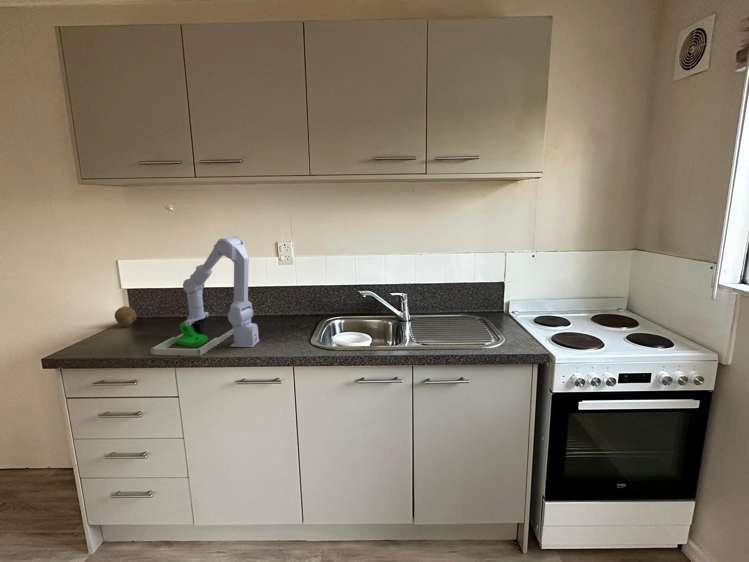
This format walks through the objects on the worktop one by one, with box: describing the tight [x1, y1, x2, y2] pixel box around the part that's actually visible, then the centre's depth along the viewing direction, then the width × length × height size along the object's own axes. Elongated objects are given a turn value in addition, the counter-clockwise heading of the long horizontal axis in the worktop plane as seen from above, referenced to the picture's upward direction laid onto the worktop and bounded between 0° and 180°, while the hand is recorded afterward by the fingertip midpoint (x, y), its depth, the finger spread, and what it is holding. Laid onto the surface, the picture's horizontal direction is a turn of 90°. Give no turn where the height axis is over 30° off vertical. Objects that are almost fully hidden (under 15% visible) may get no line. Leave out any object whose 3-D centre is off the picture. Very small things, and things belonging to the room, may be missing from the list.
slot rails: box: [174, 328, 233, 344], centre depth 178 cm, size 20×20×2 cm
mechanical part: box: [176, 320, 209, 348], centre depth 166 cm, size 12×6×8 cm, turn 63°
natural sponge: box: [114, 306, 138, 328], centre depth 195 cm, size 9×9×10 cm
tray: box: [150, 336, 220, 357], centre depth 162 cm, size 20×14×2 cm
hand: (199, 337), depth 171 cm, fingers closed
